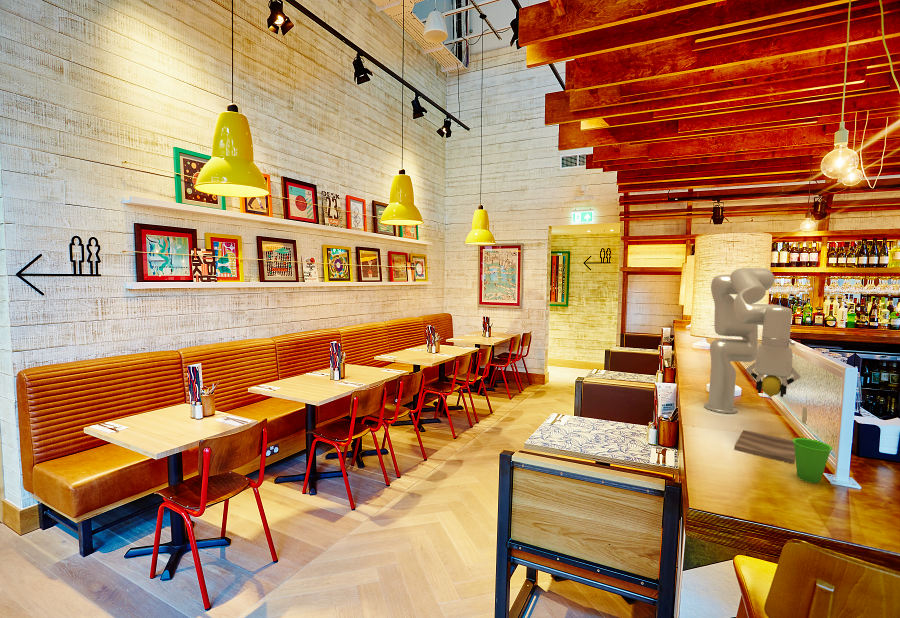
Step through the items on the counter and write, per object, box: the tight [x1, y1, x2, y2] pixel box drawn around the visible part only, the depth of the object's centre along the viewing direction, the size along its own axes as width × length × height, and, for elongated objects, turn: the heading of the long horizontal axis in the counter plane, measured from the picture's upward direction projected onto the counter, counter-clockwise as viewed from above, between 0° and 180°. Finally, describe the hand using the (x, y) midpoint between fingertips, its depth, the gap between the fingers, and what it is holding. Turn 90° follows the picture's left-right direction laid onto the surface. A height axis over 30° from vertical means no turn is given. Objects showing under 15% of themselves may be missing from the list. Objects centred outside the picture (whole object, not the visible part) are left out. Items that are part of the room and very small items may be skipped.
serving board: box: [734, 429, 796, 465], centre depth 149 cm, size 20×16×2 cm
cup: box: [791, 437, 833, 484], centre depth 126 cm, size 9×9×11 cm
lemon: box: [761, 375, 782, 398], centre depth 148 cm, size 6×6×8 cm
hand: (770, 393), depth 148 cm, fingers closed on lemon, 5 cm apart
